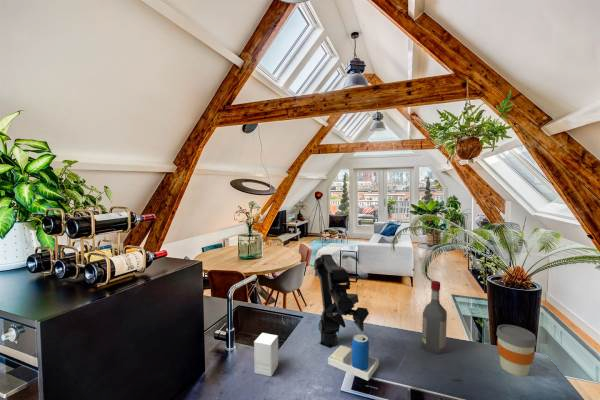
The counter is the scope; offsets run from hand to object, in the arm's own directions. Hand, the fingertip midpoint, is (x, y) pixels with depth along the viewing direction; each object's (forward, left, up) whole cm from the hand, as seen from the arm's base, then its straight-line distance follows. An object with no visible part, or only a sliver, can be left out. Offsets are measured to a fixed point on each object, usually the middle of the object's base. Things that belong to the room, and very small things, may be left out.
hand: (353, 328), depth 119 cm
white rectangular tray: (+3, -5, -12) cm, 14 cm away
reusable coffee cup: (+56, +31, -13) cm, 65 cm away
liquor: (+27, +28, -13) cm, 40 cm away
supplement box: (-24, -27, -13) cm, 39 cm away
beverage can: (+5, -5, -12) cm, 14 cm away
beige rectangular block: (-2, -5, -12) cm, 13 cm away
